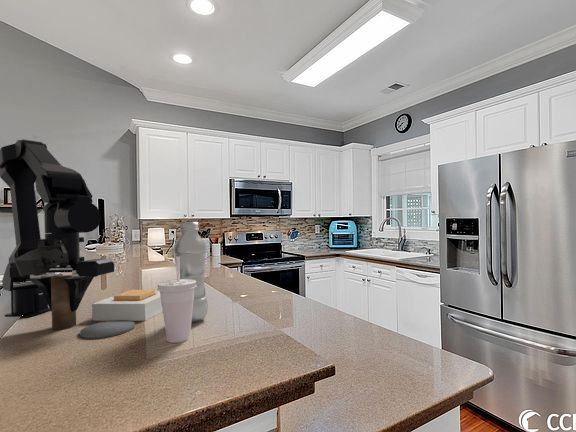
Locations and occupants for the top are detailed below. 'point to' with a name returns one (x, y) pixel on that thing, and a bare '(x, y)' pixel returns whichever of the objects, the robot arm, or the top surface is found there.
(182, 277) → the plastic bottle
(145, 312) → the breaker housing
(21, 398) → the top surface
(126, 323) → the slate mat
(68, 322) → the brown cylindrical post
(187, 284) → the smoothie
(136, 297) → the button
